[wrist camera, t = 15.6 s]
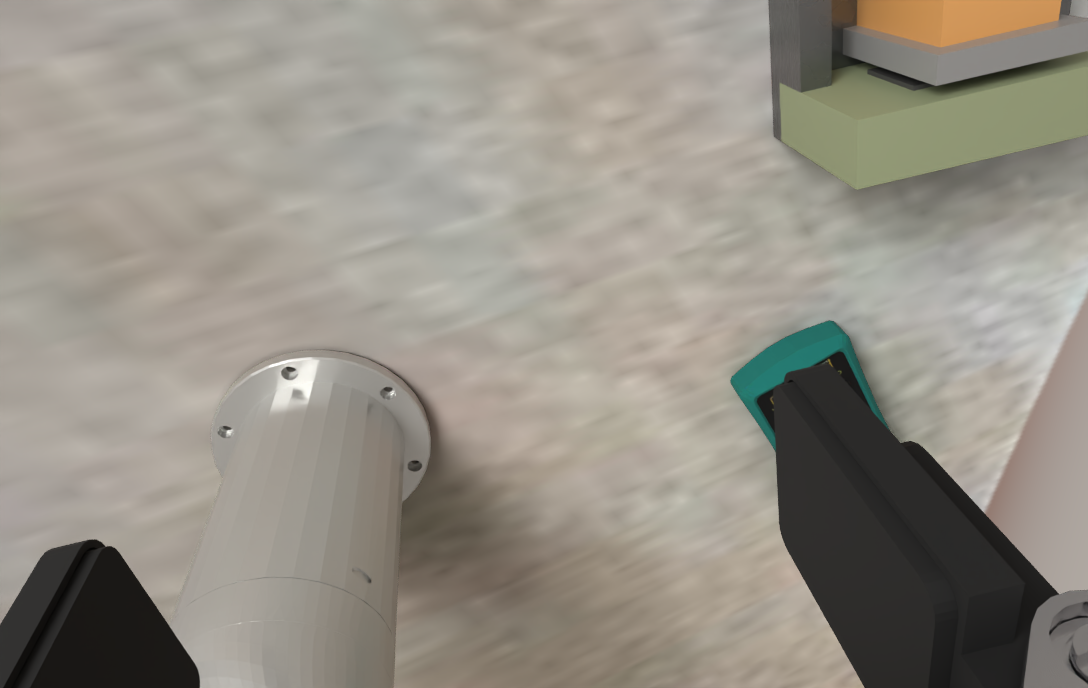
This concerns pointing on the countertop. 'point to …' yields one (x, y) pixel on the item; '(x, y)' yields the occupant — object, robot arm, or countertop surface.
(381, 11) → the countertop surface
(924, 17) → the orange pillar on base
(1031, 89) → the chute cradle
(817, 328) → the digital multimeter
